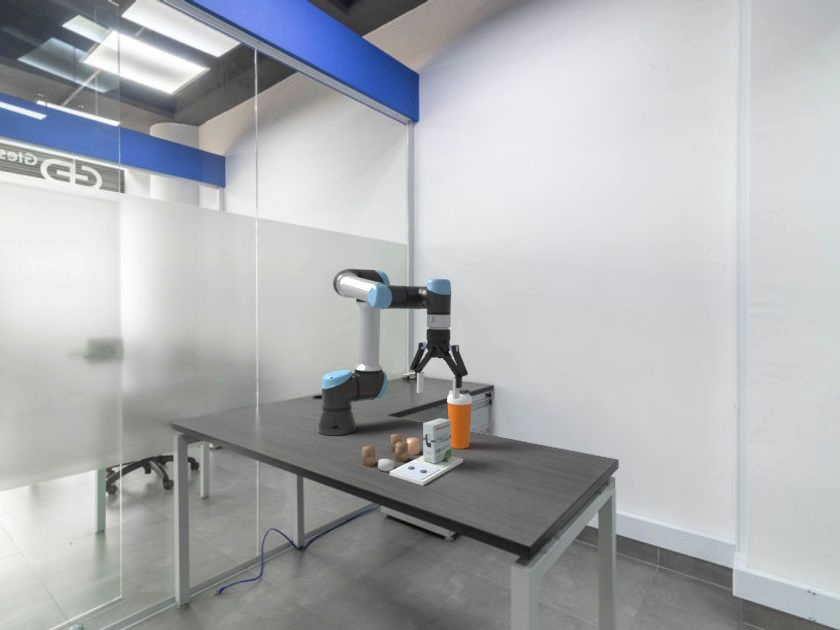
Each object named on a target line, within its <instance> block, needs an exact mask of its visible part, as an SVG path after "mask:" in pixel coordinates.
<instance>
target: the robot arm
mask: <svg viewBox="0 0 840 630" xmlns="http://www.w3.org/2000/svg"><path fill="white" fill-rule="evenodd" d="M333 277H334V278H333V280H332V286H333V287H332V288H333V290H334V291H335V293H336V294H337V295H339V296H340V297H343V298H348V299H349V298H351V299H352V298H353V299H355V303H356V304H357V305H358V307H359V316H358V317H359V320H358V321H359V323H358V361H357V362H358V363H357V365H355V366H354V370H353V371H354V372H352V370H350V369H342V370H338V369H337V370H334V371H329V372H328V373H325V374H324V375H323V376H322V380H321V381H322V382H321V414H320V417H319V418H320V419H319V421H318V423H317V430H316V431H317V433H318V434H321V435H325V436H342V435H348V434H352V433H353V432H355V431H356V430H357V423H356V421H355V418H354V413H353V410H352V404H353V403H355V402H356V403H357V402H364V401H365V402H366V401H374V400H377V399H378V400H379V399H381V398H383V396H384V395H385V394H386V393H387V390H388V386H389V385H388V384H389V383H388V382H389V381H388V378H387V377H388V376H387V373H386V372H385V371H384V370H383V367H382V366H381V365H380V342H381V341H380V340H381V339H380V338H381V310H390V309H392V310H395V309H397V310H398V309H400V310H426V327H427V329H426V342H425V341H421V342H418V348H417V350H416V354H415V356H414V357H413V360H412V362H411V365H410V367H409V368H410V369H409V370H411V371H414V375H415V376H414V381H415V383H416V394H421V393H424V385H425V384H424V383H425V382H424V381H425V378H424V377H425V376H424V373H425V372H424V371H423V370H424V368H425V367H426V366H427V364H428V363H430V361H431V359H432V358H435V359H436V358H437V359H443V360H444V361H445V363H446V365H447V366H448V368H449V369H450V371H451V372H452V374H453V375H454V377H453V378H452V389H453V399H458V398H459V393H460V390H461V389H462V387H463V377H466V376H468V375H469V372H468V369H467V367H466V364H465V363H464V360H463V358H462V354H461V353H460V345H459V344H452V345H451V344H450V342H451V330H450V329H449V328H451V317H452V314H451V313H452V311H451V310H452V287H451V286H452V285H451V281H450V280H449V279H446V278H445V279H443V278H430V279H428V280H427V283H426V286H425V285H423V286H417V285H413V286H412V285H393V284H391V281H390V279H389V277H388V274H387V273H385V272H384V271H383V270H377V269H363V268H362V269H361V268H360V269H359V268H344V269H343V270H340V271H339V272H337V273H336V275H335V276H333ZM426 350H427V352H426ZM425 352H426V353H425ZM450 352H451V353H450ZM451 354H452V355H451ZM452 357H453V358H452Z"/></svg>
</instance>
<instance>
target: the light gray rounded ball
mask: <svg viewBox="0 0 840 630" xmlns="http://www.w3.org/2000/svg"><path fill="white" fill-rule="evenodd" d="M377 462H378V463H377V469H378V470H380V471H382V472H387V473H388V472H389V473H390V471H392V470H394V469H395V465H396V462H395V461H394V460H393V459H389V458H380V459H378V461H377Z"/></svg>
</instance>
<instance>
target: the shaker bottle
mask: <svg viewBox="0 0 840 630" xmlns="http://www.w3.org/2000/svg"><path fill="white" fill-rule="evenodd" d="M470 392H471V389H465V388H464V389H462V388H460V393H459V398H458V399H453V388H452V389H449V392H448V395H447V398H446V402H447V411H448V412H447V415H448V418H447V419H448V420H450V421H451V449H457V450H462V449H464V450H465V449H467V448H469V447H470V438H471V421H472V420H471V419H472V404H473V396H472V395H471V394H470Z"/></svg>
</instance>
